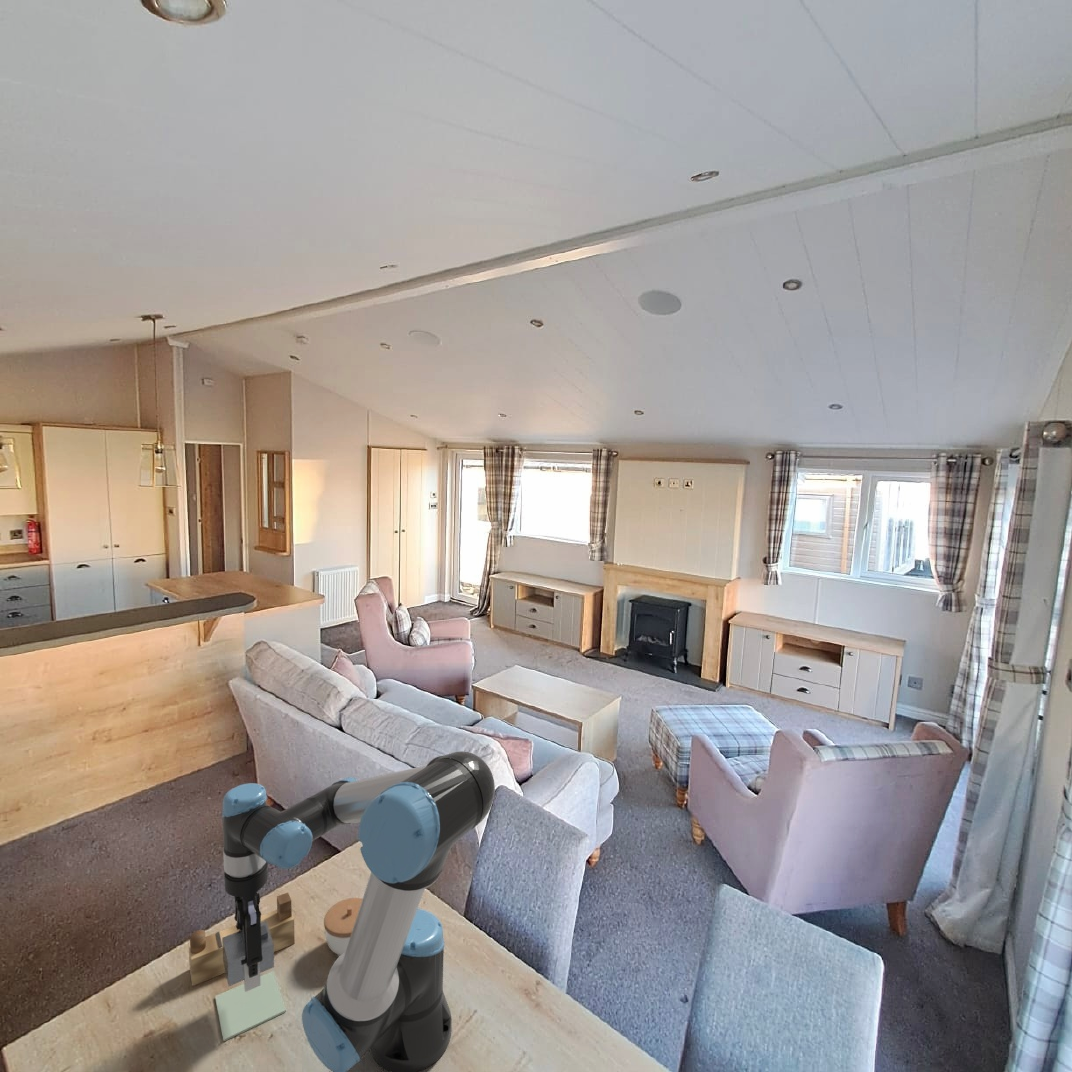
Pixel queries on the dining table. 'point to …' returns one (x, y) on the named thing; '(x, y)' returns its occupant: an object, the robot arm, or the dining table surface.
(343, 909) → the lidded jar
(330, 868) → the dining table surface
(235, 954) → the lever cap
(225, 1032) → the felt pad
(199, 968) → the plane body
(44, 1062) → the dining table surface
